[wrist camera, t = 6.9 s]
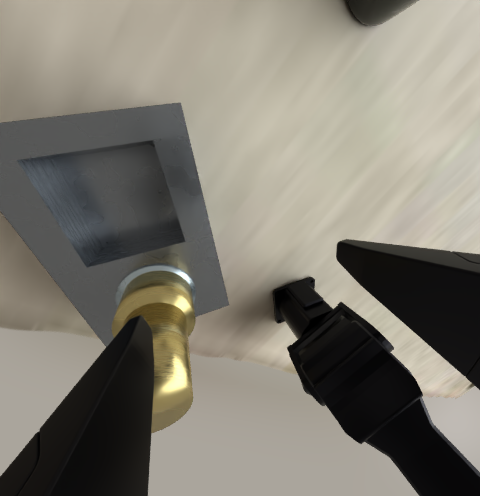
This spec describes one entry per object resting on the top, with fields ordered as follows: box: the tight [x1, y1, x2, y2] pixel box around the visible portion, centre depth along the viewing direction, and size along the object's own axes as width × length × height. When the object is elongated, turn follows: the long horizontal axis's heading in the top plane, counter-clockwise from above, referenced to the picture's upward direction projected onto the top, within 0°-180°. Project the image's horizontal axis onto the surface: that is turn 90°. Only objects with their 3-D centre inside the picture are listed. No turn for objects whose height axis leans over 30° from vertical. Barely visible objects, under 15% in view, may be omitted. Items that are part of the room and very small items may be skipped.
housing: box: [0, 103, 229, 347], centre depth 16 cm, size 16×11×5 cm
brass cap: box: [112, 270, 195, 433], centre depth 12 cm, size 5×5×8 cm
